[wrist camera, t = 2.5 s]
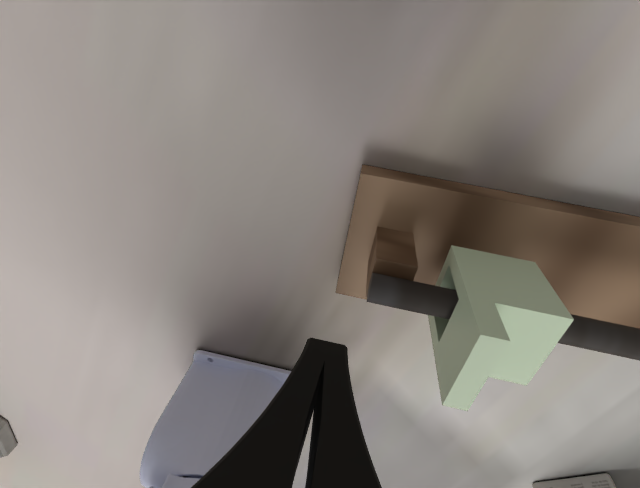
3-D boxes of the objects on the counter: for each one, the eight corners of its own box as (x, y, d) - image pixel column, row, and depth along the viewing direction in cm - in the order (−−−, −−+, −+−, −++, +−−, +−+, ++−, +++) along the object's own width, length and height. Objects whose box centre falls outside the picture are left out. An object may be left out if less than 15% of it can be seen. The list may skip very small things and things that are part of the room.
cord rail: (338, 278, 23) (321, 365, 17) (362, 164, 19) (351, 224, 13) (679, 351, 22) (797, 475, 16) (786, 244, 18) (1005, 356, 11)
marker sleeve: (426, 306, 19) (442, 405, 14) (451, 245, 17) (480, 334, 12) (500, 322, 19) (544, 429, 14) (535, 262, 17) (602, 360, 11)
